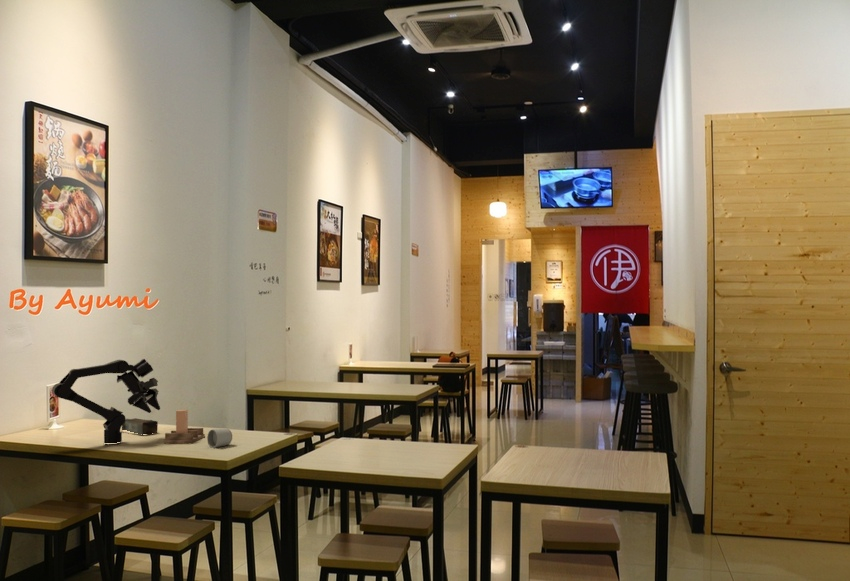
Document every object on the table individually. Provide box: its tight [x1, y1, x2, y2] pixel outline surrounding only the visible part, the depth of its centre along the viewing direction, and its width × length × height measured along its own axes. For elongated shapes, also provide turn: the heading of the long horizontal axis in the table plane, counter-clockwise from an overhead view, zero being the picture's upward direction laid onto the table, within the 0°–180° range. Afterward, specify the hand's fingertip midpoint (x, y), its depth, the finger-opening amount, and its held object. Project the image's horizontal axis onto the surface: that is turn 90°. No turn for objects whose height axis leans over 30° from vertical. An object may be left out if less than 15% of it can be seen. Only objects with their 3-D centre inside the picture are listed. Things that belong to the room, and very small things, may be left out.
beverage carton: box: [121, 418, 159, 435], centre depth 329 cm, size 8×19×7 cm, turn 52°
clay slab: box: [175, 409, 189, 433], centre depth 305 cm, size 4×3×12 cm
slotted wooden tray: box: [163, 427, 206, 445], centre depth 308 cm, size 12×16×4 cm
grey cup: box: [206, 427, 233, 449], centre depth 295 cm, size 11×8×8 cm
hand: (155, 410), depth 307 cm, fingers open, 9 cm apart
